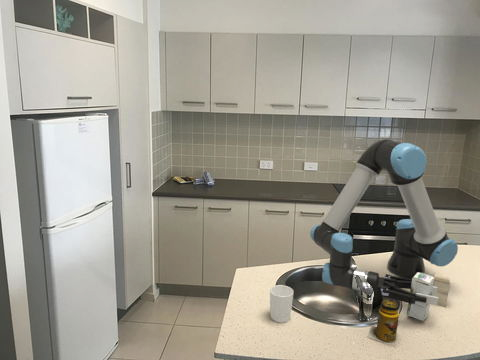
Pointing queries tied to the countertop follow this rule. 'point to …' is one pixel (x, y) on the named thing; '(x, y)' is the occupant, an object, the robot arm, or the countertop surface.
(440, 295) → the beige block
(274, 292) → the white cup
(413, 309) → the syrup box
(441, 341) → the countertop surface
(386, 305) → the condiment
